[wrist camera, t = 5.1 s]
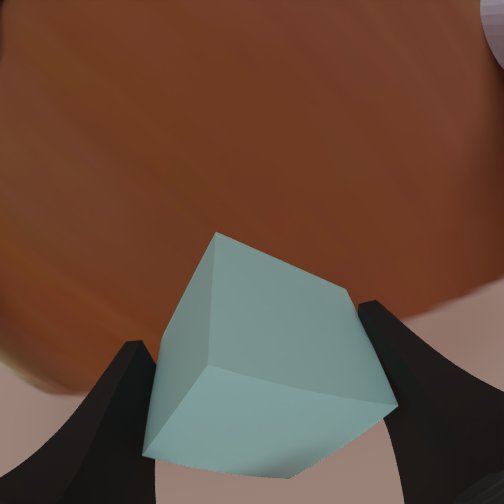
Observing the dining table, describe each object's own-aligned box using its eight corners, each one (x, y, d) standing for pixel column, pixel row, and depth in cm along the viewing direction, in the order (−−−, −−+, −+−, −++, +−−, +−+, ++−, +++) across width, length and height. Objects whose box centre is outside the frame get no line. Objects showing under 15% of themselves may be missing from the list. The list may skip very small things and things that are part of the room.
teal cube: (345, 289, 11) (398, 405, 7) (273, 373, 13) (289, 478, 9) (215, 231, 9) (207, 363, 5) (162, 337, 12) (141, 455, 7)
